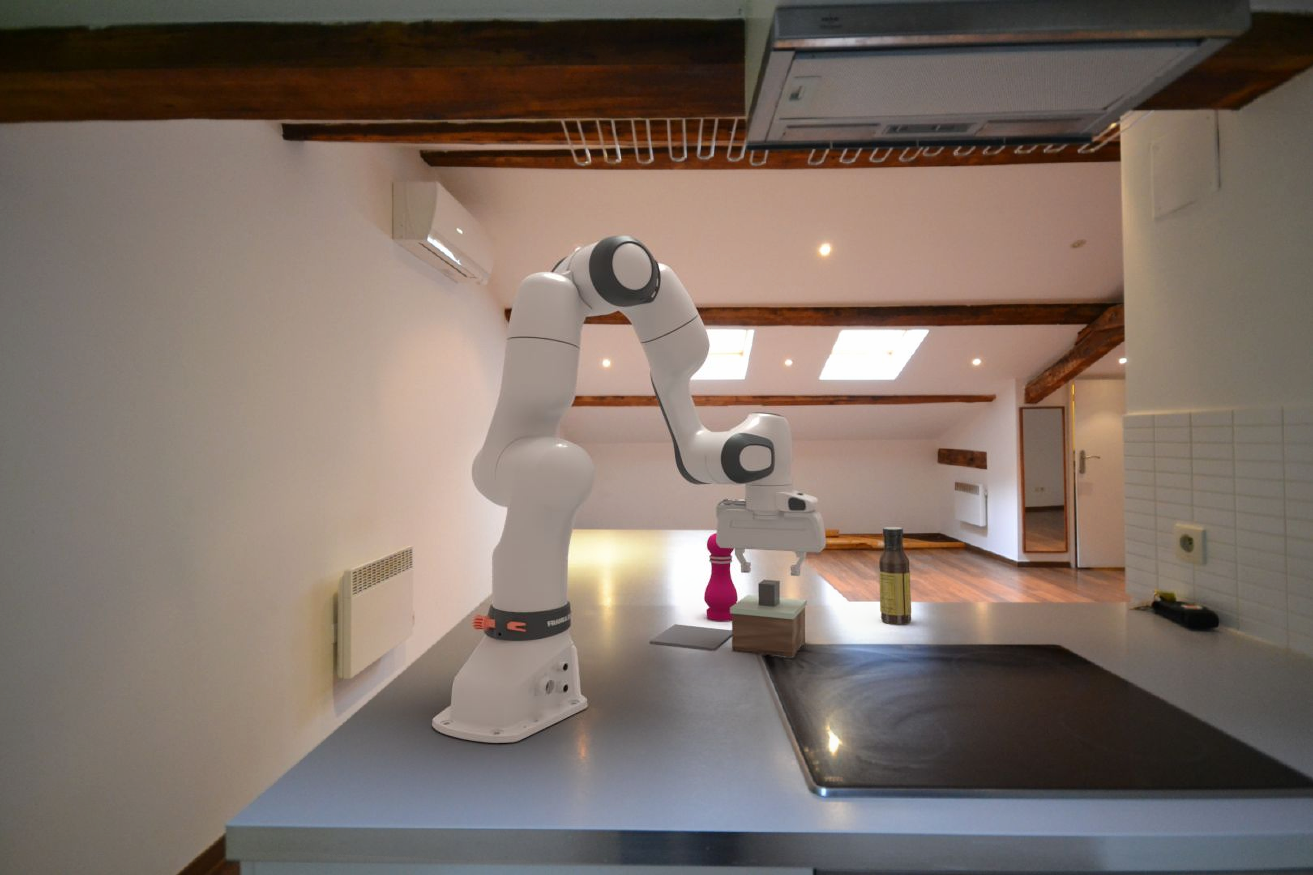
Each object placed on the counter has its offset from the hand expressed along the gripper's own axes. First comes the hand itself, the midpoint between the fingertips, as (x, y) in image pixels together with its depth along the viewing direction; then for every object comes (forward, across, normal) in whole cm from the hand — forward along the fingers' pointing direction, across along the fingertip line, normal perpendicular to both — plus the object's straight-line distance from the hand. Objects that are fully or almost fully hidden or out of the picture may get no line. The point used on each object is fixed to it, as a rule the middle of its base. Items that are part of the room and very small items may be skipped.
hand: (770, 573), depth 131 cm
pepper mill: (+14, -15, +16) cm, 26 cm away
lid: (+8, 0, 0) cm, 8 cm away
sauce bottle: (+14, +20, +28) cm, 37 cm away
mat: (+13, -15, 0) cm, 20 cm away
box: (+14, 0, 0) cm, 14 cm away
